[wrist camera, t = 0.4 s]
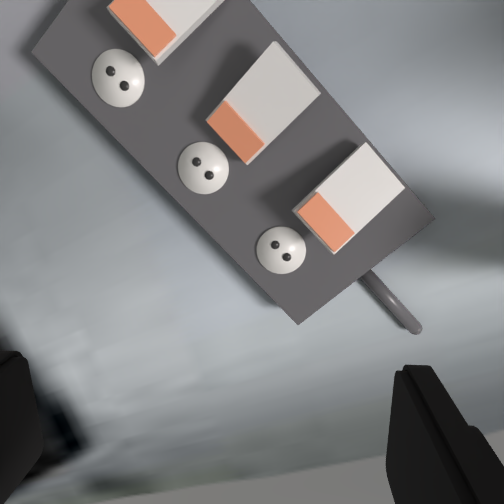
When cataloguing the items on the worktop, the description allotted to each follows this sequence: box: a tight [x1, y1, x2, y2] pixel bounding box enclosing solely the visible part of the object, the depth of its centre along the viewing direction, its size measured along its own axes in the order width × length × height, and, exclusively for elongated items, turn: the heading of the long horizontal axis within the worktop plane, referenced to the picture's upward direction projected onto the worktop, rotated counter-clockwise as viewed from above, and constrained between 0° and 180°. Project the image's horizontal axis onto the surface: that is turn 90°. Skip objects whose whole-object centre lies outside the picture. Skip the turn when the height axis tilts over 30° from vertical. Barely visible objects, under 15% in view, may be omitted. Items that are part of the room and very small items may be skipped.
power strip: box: [31, 0, 435, 335], centre depth 31 cm, size 14×39×4 cm, turn 44°
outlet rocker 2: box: [292, 142, 405, 254], centre depth 28 cm, size 7×4×1 cm, turn 133°
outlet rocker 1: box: [206, 41, 321, 165], centre depth 27 cm, size 7×4×1 cm, turn 134°
